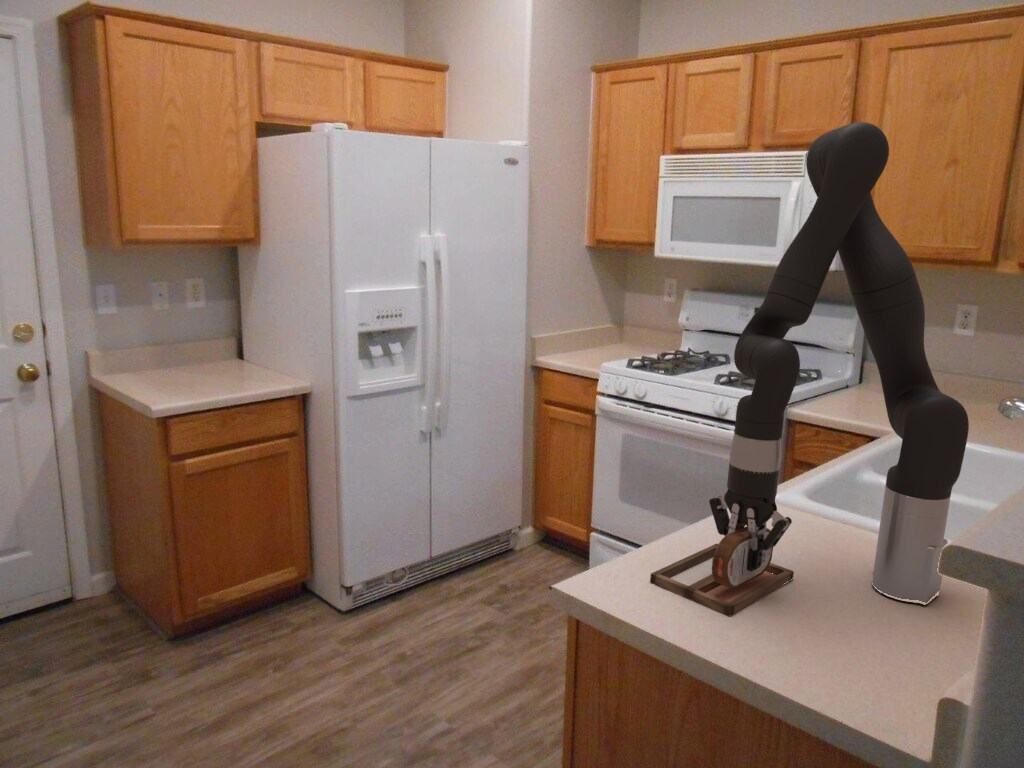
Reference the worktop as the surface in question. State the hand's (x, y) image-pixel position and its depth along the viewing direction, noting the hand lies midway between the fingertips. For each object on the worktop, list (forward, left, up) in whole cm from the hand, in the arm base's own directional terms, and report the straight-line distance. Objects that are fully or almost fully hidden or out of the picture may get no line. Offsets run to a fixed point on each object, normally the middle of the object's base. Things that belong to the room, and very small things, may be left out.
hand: (743, 565), depth 126 cm
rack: (+3, 0, -4) cm, 5 cm away
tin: (0, 0, -3) cm, 3 cm away
